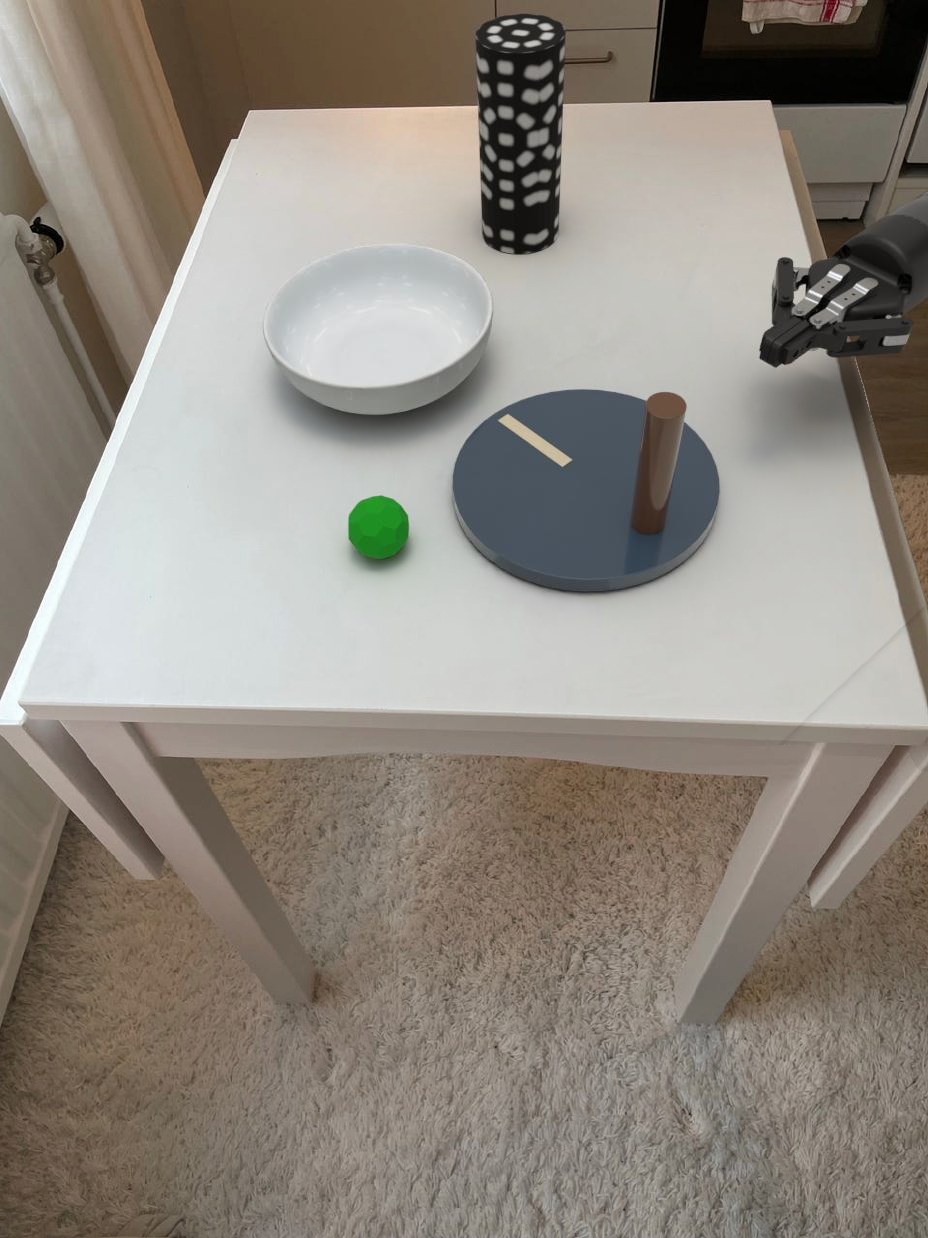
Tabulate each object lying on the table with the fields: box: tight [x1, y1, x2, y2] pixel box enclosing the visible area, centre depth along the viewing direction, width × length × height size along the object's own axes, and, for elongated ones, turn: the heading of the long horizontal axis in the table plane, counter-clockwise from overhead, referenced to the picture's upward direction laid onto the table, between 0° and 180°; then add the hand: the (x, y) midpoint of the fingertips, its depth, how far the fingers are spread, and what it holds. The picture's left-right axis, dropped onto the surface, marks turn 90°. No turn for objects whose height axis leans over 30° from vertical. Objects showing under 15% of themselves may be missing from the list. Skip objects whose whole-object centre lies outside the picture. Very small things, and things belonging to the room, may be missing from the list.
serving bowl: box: [262, 242, 494, 416], centre depth 88 cm, size 21×21×7 cm
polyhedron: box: [347, 494, 410, 560], centre depth 76 cm, size 5×5×5 cm
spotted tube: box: [475, 13, 567, 255], centre depth 96 cm, size 8×8×20 cm
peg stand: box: [452, 388, 721, 592], centre depth 75 cm, size 22×22×14 cm
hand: (769, 353), depth 73 cm, fingers closed
